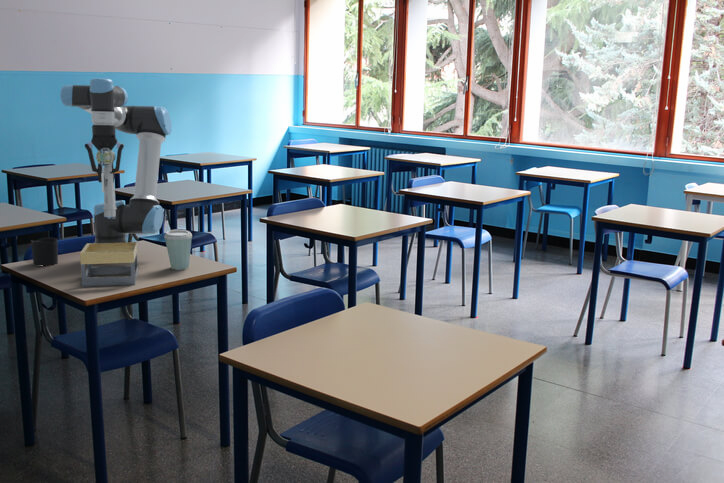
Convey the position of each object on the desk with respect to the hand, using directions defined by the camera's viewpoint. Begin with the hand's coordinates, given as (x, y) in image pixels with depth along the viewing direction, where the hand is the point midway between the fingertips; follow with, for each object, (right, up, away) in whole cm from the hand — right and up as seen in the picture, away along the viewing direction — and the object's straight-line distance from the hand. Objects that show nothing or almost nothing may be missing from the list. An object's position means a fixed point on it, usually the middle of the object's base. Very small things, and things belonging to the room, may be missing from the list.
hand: (106, 191), depth 237 cm
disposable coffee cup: (+19, -29, +25) cm, 42 cm away
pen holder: (-35, -27, +27) cm, 52 cm away
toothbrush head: (0, -10, +1) cm, 10 cm away
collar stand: (-1, -32, +6) cm, 32 cm away
